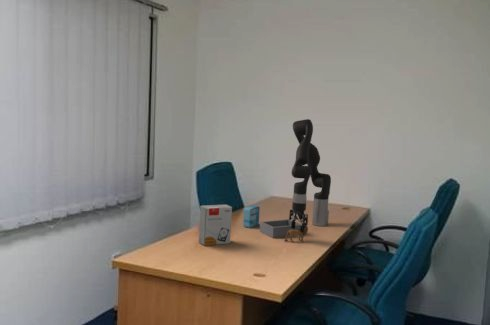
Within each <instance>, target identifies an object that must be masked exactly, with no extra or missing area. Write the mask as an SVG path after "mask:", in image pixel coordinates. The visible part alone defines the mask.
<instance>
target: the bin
mask: <svg viewBox="0 0 490 325" xmlns="http://www.w3.org/2000/svg"><path fill="white" fill-rule="evenodd" d="M295 222H296V223H295V229H292V228H291V220H289V218H288V219H277V220H267V221H266V220H265V221H259V233H261V234H263V235H265V236H267V237H270V238H272V239H277V238H286V235H287V232H288V231H289V230H299V229H300V226H301V224H300V222H297V221H295Z"/></svg>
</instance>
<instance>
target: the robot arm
mask: <svg viewBox="0 0 490 325" xmlns="http://www.w3.org/2000/svg"><path fill="white" fill-rule="evenodd" d="M292 130H293V133H294V136H295V138H296V140H297V141H298V144H299V145H298V146H297V148H296V151H295V152H296V153H295V161H294V164H293V166H292V169H291V176H292V177H293V178H294V179H303V180H302V181H298V182H294V185H293V194H292V202H291V203H292V206H291V207H292V208H291V209H289V217H288V219H289V220H291V228H292V229H295V223H296V222H297V221H298V223H299V224H301V226H300V232H304V229H305V225H307V226H308V222H309V215H308V213H305V211H306V209H307V190H308V184H309V183H308V182H309V180H311V182H312V185H313V187H316V188H321V189H320V191H318V192H315V193H314V194H313V207H312V209H313V210H312V222H311V224H312V225H313V226H317V227H326V226H329V218H330V217H329V216H330V211H329V197H330V193H331V183H332V178H331V175H330V174H329V173H323V172H322V173H321V172H319V170H318V166H319V164H320V161H321V155H320V153H319V149H318V148H317V147H316V145H314V144H313V143H312V137H313V133H314V125H313V121H312V120H311V119H309V118H307V119H300V120H296V121H294V122H293V124H292Z"/></svg>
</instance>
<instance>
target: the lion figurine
mask: <svg viewBox="0 0 490 325" xmlns="http://www.w3.org/2000/svg"><path fill="white" fill-rule="evenodd" d="M308 232H309V227H308V225H305V229H304V232H300V229H299V230H289V231H288V232H287V235H286V237H285V239H284V242H288V238H289V240H290V241H291V243H294V242H295V241H294V240H293V238H294V237H296V238H297V237H298V241H299V242H300V241H301V242H302V243H304V237H305V236H307V233H308Z"/></svg>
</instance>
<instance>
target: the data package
mask: <svg viewBox="0 0 490 325" xmlns="http://www.w3.org/2000/svg"><path fill="white" fill-rule="evenodd" d="M260 210H261V209H260V206H258V205H249V206H246V207H244V208H243V220H242V226H243V228H248V229H251V228H254V227H257V226H259V225H260Z"/></svg>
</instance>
